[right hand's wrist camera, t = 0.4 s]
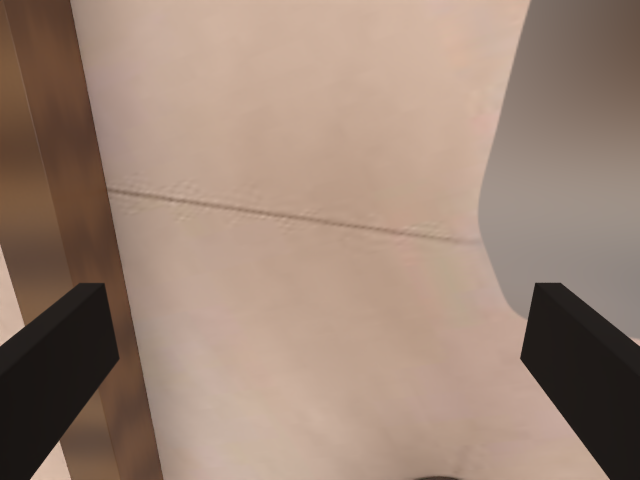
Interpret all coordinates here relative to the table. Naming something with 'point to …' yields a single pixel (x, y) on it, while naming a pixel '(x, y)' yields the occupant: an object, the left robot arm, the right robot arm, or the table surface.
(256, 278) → the table surface
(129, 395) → the bar
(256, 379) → the table surface
